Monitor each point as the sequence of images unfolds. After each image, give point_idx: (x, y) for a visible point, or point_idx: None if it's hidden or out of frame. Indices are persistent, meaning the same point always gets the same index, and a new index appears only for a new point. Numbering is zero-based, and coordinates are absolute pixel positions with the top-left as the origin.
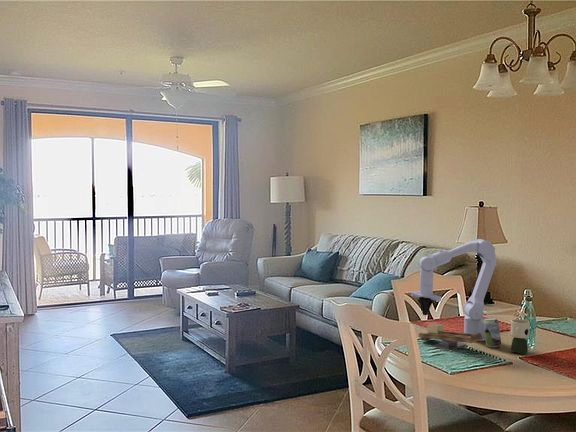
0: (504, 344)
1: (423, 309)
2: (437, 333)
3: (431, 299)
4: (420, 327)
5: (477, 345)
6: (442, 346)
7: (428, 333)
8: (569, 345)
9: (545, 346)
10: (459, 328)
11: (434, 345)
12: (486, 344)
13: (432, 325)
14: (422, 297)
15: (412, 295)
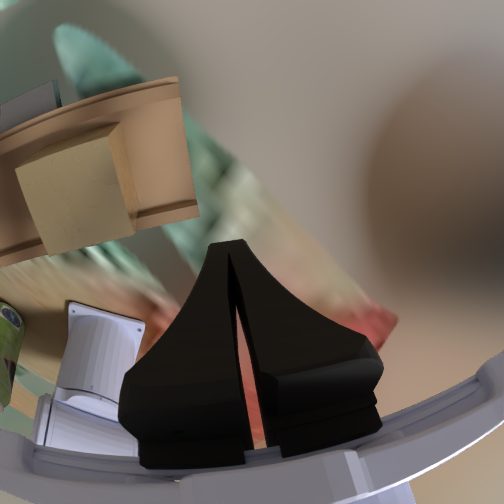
0: (29, 352)
1: (237, 277)
2: (38, 151)
3: (127, 457)
4: (356, 294)
5: (25, 289)
6: (17, 120)
7: (111, 125)
8: (21, 411)
9: (13, 389)
10: (242, 379)
11: (46, 90)
12: (3, 304)
13: (75, 173)
14: (318, 442)
15: (495, 369)
